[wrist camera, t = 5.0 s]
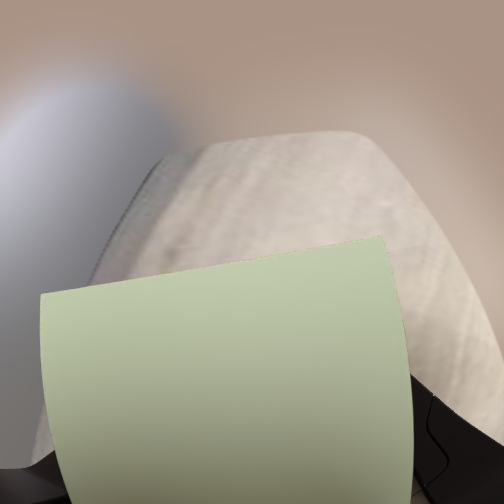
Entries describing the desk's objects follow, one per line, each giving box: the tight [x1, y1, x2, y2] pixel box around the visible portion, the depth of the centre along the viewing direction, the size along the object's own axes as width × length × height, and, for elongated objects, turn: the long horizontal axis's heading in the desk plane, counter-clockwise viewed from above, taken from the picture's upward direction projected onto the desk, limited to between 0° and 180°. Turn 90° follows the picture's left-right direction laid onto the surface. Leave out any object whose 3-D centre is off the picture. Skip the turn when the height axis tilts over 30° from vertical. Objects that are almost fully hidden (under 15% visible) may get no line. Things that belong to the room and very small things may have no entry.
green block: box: [40, 236, 414, 504], centre depth 8 cm, size 4×4×12 cm
